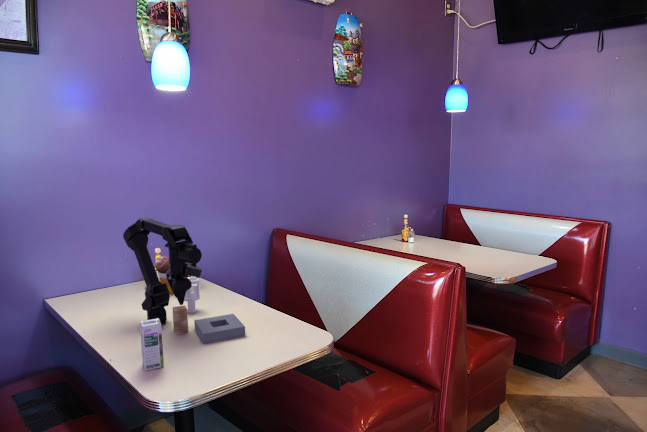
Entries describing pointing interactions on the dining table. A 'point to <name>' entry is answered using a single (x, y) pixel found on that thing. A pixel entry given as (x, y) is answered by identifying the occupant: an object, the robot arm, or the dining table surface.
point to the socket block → (219, 328)
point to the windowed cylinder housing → (192, 294)
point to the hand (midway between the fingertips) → (179, 301)
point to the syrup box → (151, 344)
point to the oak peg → (180, 319)
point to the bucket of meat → (164, 270)
